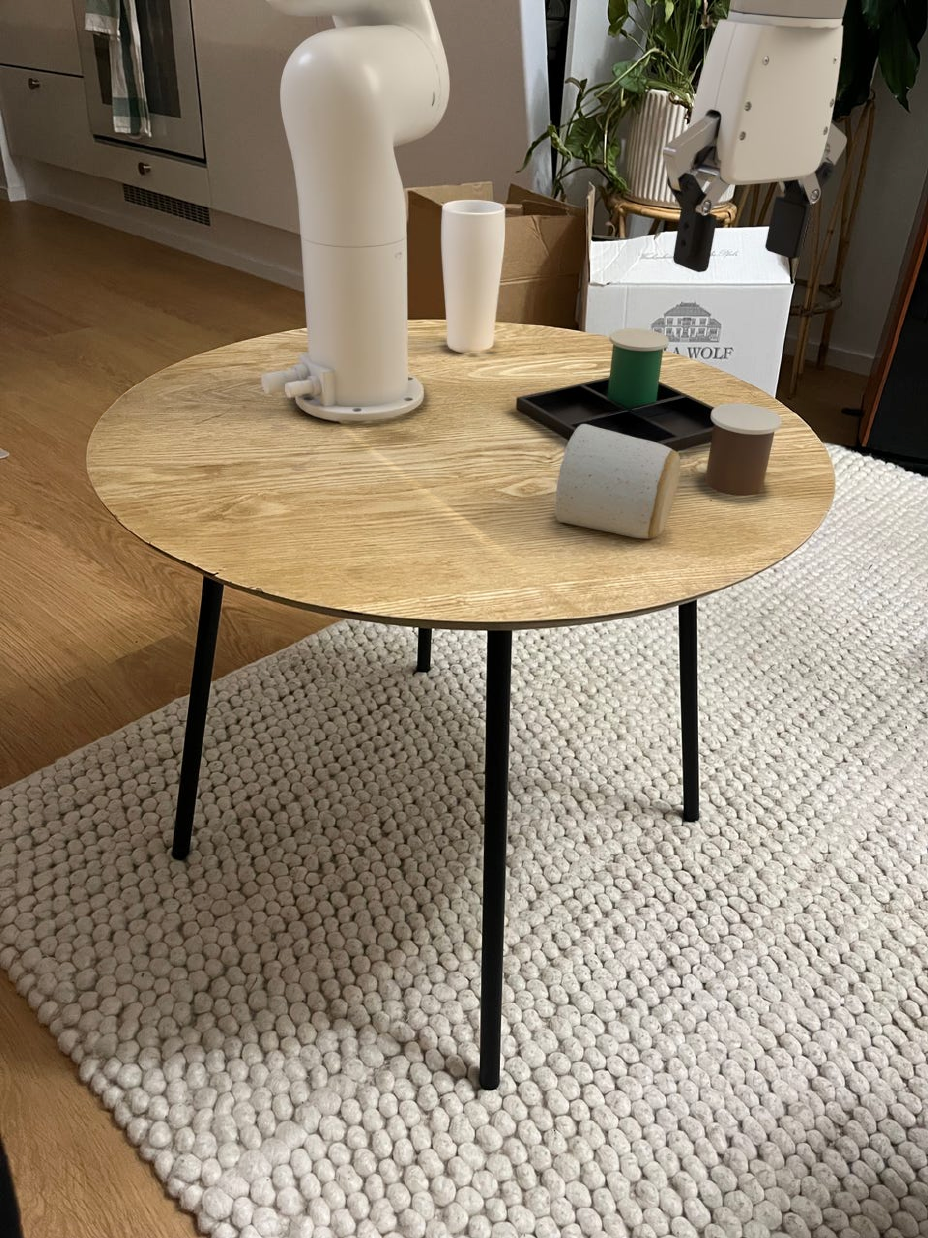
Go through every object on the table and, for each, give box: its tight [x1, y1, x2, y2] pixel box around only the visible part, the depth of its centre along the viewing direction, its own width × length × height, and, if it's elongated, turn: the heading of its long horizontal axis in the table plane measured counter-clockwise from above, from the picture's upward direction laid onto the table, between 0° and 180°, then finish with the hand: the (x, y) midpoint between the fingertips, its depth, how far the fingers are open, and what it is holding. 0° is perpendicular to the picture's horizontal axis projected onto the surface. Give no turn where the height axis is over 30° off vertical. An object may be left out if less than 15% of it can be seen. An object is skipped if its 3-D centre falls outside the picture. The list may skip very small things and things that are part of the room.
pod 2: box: [704, 402, 783, 497], centre depth 82 cm, size 6×6×6 cm
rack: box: [515, 376, 715, 453], centre depth 94 cm, size 15×15×2 cm
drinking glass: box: [440, 199, 506, 354], centre depth 108 cm, size 7×7×15 cm
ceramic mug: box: [554, 424, 682, 540], centre depth 77 cm, size 11×8×8 cm
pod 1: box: [607, 327, 670, 408], centre depth 97 cm, size 6×6×6 cm
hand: (736, 260), depth 76 cm, fingers open, 9 cm apart
